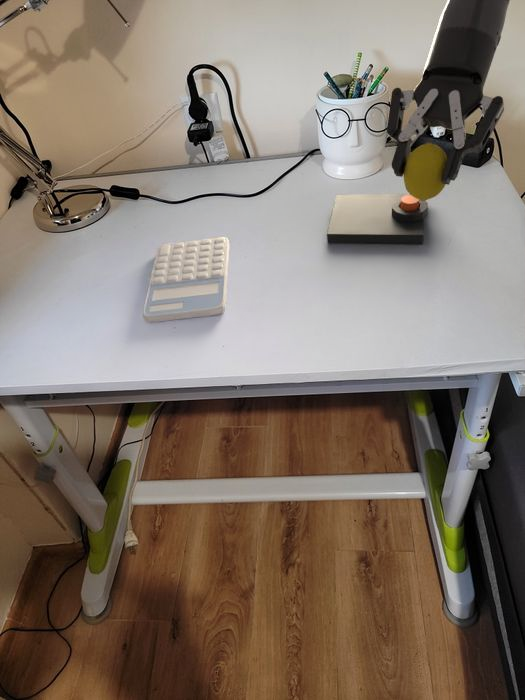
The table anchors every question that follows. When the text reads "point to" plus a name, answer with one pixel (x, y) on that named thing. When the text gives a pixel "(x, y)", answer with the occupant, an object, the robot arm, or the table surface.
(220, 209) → the table surface
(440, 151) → the lemon
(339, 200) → the scale
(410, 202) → the button
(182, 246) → the calculator
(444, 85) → the robot arm
